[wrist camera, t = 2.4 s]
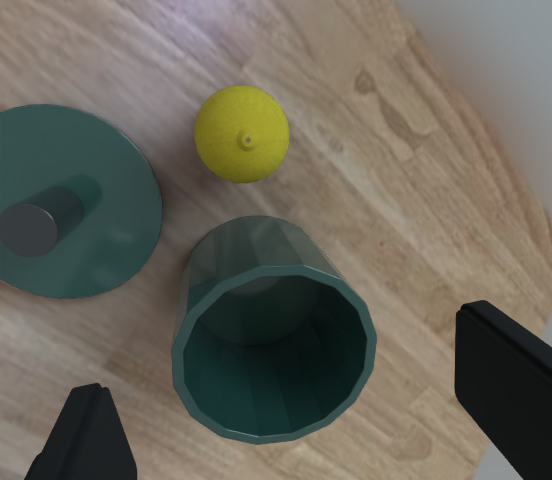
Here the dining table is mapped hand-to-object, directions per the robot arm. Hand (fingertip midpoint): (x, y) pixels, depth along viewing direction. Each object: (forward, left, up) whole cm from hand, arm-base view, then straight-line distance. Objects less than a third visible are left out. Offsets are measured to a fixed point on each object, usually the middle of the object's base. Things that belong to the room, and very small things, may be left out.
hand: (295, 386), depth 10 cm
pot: (+1, -6, -20) cm, 21 cm away
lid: (-12, 0, -19) cm, 22 cm away
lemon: (0, +5, -20) cm, 21 cm away
